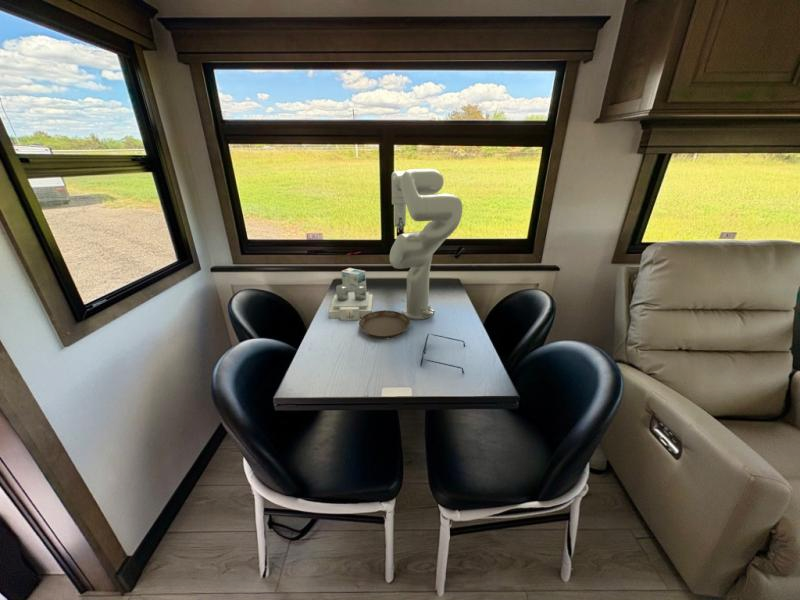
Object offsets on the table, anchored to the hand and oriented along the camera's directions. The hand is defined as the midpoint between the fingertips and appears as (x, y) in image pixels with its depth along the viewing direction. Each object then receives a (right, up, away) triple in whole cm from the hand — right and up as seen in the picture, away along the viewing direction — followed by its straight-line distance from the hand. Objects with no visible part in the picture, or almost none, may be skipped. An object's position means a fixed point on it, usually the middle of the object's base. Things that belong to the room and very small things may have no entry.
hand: (400, 238), depth 155 cm
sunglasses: (+15, -49, -39) cm, 65 cm away
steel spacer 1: (-26, -28, -5) cm, 39 cm away
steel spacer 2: (-18, -28, -5) cm, 34 cm away
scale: (-22, -33, -5) cm, 40 cm away
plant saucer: (-6, -41, -20) cm, 46 cm away
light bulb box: (-24, -24, +16) cm, 37 cm away
